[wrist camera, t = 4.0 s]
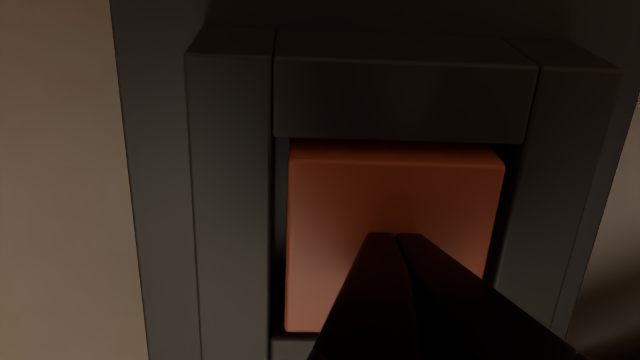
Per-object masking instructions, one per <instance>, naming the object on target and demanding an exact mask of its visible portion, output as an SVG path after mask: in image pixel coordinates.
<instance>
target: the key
mask: <svg viewBox="0 0 640 360" xmlns="http://www.w3.org/2000/svg"><path fill="white" fill-rule="evenodd" d="M504 173H505V165H504V163H503V162H502V161H501V159H500V158H499V157H498V155H497V154H496V153H495V151H494V150H493V149H492V147H491V146H490V145H489V144H488V143H455V142H422V141H389V140H356V139H323V138H291V137H289V160H288V199H287V238H286V278H285V317H284V328H285V330H286V331H287V332H320V331H321V329H322V327H323V324H324V322H325V320H326V318H327V316H328V314H329V312H330V310H331V308H332V306H333V303H334V301H335V299H336V297H337V295H338V293H339V291H340V289H341V287H342V285H343V282H344V280H345V278H346V276H347V274H348V272H349V270H350V268H351V266H352V264H353V261H354V259H355V257H356V255H357V253H358V251H359V249H360V247H361V245H362V243H363V240H364V238H365V236H366V235H367V234H368V233H370V232H380V233H392V234H393V235H394V236H395V234H397V233H418V234H421V235H423V236H424V237H426V238H427V239H429V240H430V241H431V242H433V243H434V244H435V245H437V246H438V247H439V248H441V249H442V250H443V251H445V252H446V253H447V254H449V255H450V256H451V257H453V258H454V259H455V260H457V261H458V262H459V263H461V264H462V265H463V266H465V267H466V268H468V269H469V270H470V271H472V272H473V273H474V274H476V275H477V276H478V277H480V278H481V279H482V278H483V274H484V269H485V264H486V259H487V254H488V250H489V245H490V240H491V235H492V231H493V226H494V221H495V216H496V211H497V207H498V202H499V197H500V192H501V187H502V183H503V178H504Z"/></svg>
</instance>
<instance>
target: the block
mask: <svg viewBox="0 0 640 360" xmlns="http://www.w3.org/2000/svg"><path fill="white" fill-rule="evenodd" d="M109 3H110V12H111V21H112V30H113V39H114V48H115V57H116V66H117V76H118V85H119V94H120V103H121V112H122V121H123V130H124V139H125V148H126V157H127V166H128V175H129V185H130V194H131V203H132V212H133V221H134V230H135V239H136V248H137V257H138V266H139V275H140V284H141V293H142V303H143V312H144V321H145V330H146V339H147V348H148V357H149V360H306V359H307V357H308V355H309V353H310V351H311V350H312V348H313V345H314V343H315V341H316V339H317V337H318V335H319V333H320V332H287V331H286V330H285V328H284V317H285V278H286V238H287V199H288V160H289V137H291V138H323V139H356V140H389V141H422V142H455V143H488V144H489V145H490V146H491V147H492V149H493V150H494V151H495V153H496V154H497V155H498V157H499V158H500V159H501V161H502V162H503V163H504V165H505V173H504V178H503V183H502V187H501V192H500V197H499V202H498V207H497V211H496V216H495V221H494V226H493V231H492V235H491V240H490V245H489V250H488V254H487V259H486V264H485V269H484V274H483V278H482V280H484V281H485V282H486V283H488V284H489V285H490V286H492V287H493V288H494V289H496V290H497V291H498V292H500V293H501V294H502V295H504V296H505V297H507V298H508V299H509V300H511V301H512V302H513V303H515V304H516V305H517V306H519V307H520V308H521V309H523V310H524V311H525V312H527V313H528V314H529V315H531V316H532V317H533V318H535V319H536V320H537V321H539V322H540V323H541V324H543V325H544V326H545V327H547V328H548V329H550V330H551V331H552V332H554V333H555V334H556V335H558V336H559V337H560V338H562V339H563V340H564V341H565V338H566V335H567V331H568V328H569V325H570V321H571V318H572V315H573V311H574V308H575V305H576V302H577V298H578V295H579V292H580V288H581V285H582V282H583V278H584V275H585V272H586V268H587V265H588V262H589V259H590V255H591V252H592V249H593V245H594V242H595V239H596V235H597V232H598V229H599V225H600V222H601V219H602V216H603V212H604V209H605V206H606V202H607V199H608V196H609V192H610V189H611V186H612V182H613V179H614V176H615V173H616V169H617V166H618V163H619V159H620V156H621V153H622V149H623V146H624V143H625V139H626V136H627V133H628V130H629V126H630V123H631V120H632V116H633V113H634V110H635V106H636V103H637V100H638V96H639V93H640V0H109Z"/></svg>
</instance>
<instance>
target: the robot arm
mask: <svg viewBox="0 0 640 360" xmlns="http://www.w3.org/2000/svg"><path fill="white" fill-rule="evenodd" d="M576 352H577V351H576V349H575V348H574V347H572V346H571V345H570V344H568V343H567V342H566V341H564V340H563V339H562V338H560V337H559V336H558V335H556V334H555V333H554V332H552V331H551V330H550V329H548V328H547V327H545V326H544V325H543V324H541V323H540V322H539V321H537V320H536V319H535V318H533V317H532V316H531V315H529V314H528V313H527V312H525V311H524V310H523V309H521V308H520V307H519V306H517V305H516V304H515V303H513V302H512V301H511V300H509V299H508V298H507V297H505V296H504V295H502V294H501V293H500V292H498V291H497V290H496V289H494V288H493V287H492V286H490V285H489V284H488V283H486V282H485V281H484V280H482V279H481V278H480V277H478V276H477V275H476V274H474V273H473V272H472V271H470V270H469V269H468V268H466V267H465V266H463V265H462V264H461V263H459V262H458V261H457V260H455V259H454V258H453V257H451V256H450V255H449V254H447V253H446V252H445V251H443V250H442V249H441V248H439V247H438V246H437V245H435V244H434V243H433V242H431V241H430V240H429V239H427V238H426V237H424V236H423V235H421V234H418V233H397V234H395V236H394V235H393V234H392V233H380V232H370V233H368V234H367V235H366V236H365V238H364V240H363V243H362V245H361V247H360V249H359V251H358V253H357V255H356V257H355V259H354V261H353V264H352V266H351V268H350V270H349V272H348V274H347V276H346V278H345V280H344V282H343V285H342V287H341V289H340V291H339V293H338V295H337V297H336V299H335V301H334V303H333V306H332V308H331V310H330V312H329V314H328V316H327V318H326V320H325V322H324V324H323V327H322V329H321V331H320V333H319V335H318V337H317V339H316V341H315V343H314V345H313V348H312V350H311V351H310V353H309V355H308V357H307V359H306V360H590V359H589V358H587V357H586V356H585V355H583V354H582V353H577V354H576Z"/></svg>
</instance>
